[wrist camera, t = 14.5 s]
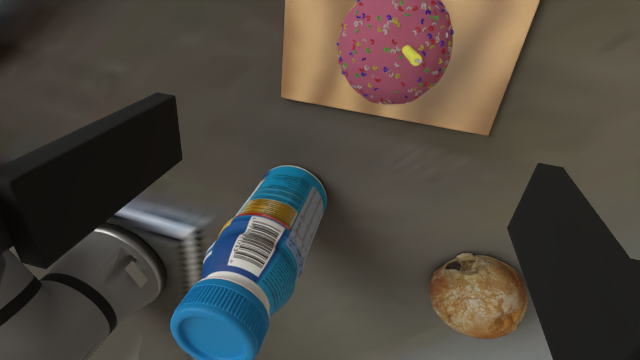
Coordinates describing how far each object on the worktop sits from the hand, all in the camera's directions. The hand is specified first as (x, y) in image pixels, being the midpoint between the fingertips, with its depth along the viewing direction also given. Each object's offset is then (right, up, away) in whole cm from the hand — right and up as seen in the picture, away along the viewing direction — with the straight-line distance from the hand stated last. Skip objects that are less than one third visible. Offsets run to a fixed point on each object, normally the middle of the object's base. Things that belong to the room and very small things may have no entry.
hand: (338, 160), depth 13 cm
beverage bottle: (-4, -2, +29) cm, 29 cm away
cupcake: (+6, +11, +18) cm, 22 cm away
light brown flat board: (+6, +12, +18) cm, 22 cm away
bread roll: (+18, -13, +29) cm, 37 cm away
